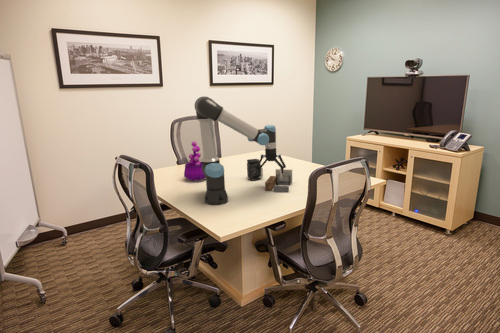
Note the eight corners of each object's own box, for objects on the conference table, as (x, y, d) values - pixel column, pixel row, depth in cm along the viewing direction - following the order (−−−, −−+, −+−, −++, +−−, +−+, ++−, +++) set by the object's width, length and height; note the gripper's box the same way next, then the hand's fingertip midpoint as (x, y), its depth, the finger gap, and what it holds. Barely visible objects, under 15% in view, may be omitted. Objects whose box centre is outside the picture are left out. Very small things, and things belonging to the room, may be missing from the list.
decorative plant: (190, 175, 267) (187, 138, 259) (211, 176, 263) (209, 139, 255) (180, 182, 249) (177, 143, 241) (204, 183, 246) (201, 144, 238)
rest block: (273, 191, 224) (273, 186, 223) (274, 189, 228) (274, 184, 227) (288, 192, 222) (288, 187, 221) (288, 190, 226) (288, 184, 225)
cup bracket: (274, 184, 238) (274, 171, 235) (275, 182, 244) (275, 169, 241) (291, 185, 236) (291, 171, 233) (292, 182, 241) (292, 169, 239)
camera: (263, 180, 249) (262, 161, 245) (249, 181, 247) (248, 162, 243) (260, 176, 259) (259, 157, 255) (247, 177, 257) (246, 158, 253)
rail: (265, 190, 227) (264, 182, 225) (270, 183, 242) (270, 175, 240) (271, 191, 226) (271, 183, 224) (276, 184, 240) (276, 176, 239)
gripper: (251, 149, 225) (253, 178, 231) (288, 149, 220) (288, 179, 226) (253, 146, 232) (255, 175, 238) (289, 146, 227) (289, 175, 233)
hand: (271, 177), depth 232 cm, fingers open, 13 cm apart
